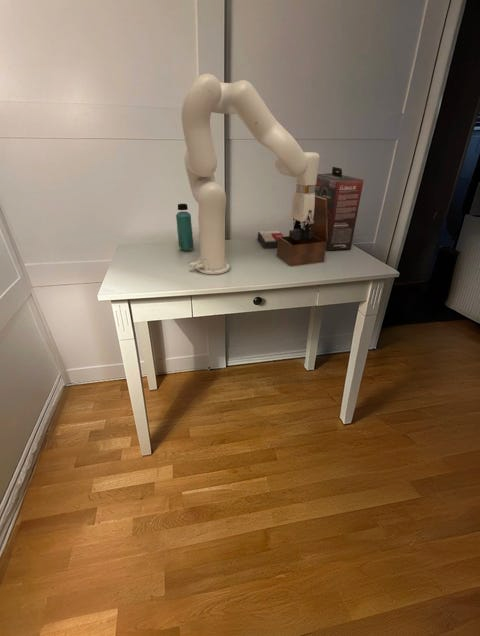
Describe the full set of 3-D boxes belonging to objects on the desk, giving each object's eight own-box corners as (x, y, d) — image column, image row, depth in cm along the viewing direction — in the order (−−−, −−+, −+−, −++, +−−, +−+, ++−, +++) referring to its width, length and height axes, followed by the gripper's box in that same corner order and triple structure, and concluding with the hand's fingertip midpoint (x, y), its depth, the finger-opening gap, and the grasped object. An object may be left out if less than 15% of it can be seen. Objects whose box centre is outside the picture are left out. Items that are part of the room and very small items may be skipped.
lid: (325, 199, 115) (338, 195, 116) (307, 193, 125) (319, 190, 127) (326, 241, 125) (338, 237, 126) (309, 232, 135) (321, 229, 136)
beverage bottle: (195, 252, 138) (192, 204, 128) (180, 253, 136) (176, 206, 126) (191, 247, 143) (188, 201, 133) (177, 249, 141) (173, 202, 131)
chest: (290, 266, 124) (292, 245, 120) (276, 256, 135) (278, 237, 130) (323, 261, 129) (327, 242, 125) (308, 252, 139) (310, 233, 135)
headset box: (305, 236, 161) (314, 164, 144) (328, 234, 163) (339, 164, 146) (326, 251, 140) (339, 170, 123) (351, 250, 142) (367, 170, 125)
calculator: (264, 240, 141) (258, 230, 153) (264, 249, 143) (257, 238, 155) (288, 239, 142) (279, 229, 155) (287, 248, 145) (278, 237, 157)
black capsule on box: (295, 240, 124) (296, 230, 122) (288, 236, 128) (289, 226, 126) (311, 238, 126) (313, 228, 124) (305, 234, 130) (306, 225, 128)
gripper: (285, 186, 123) (282, 232, 133) (308, 193, 109) (303, 244, 119) (302, 185, 125) (298, 230, 135) (326, 192, 112) (319, 242, 121)
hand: (300, 236), depth 127 cm, fingers closed on black capsule on box, 5 cm apart
